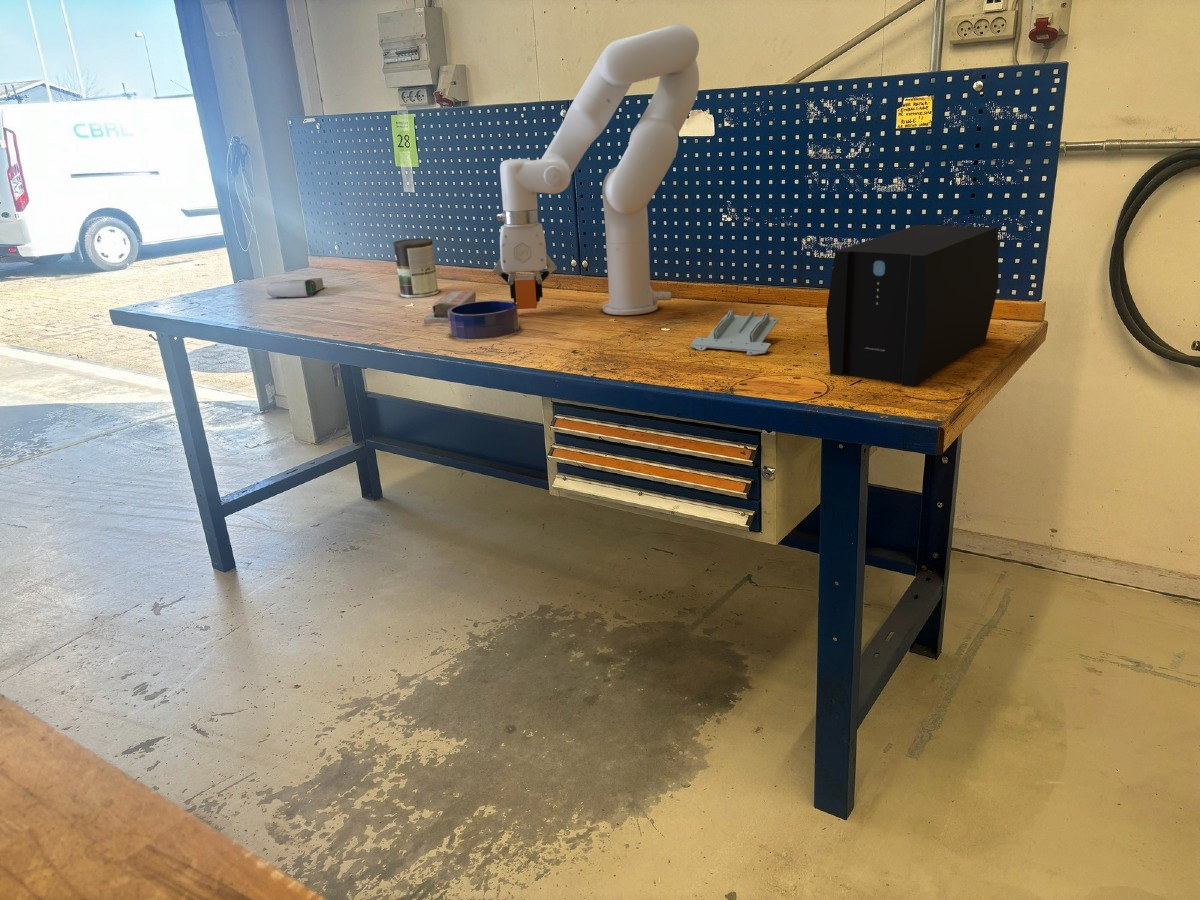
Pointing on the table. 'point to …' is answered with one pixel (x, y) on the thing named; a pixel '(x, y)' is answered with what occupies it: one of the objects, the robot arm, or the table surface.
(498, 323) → the bowl
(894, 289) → the uninterruptible power supply
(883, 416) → the table surface
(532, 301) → the carton
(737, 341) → the metal bracket
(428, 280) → the coffee can
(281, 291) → the infrared thermometer
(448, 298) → the packaged product
